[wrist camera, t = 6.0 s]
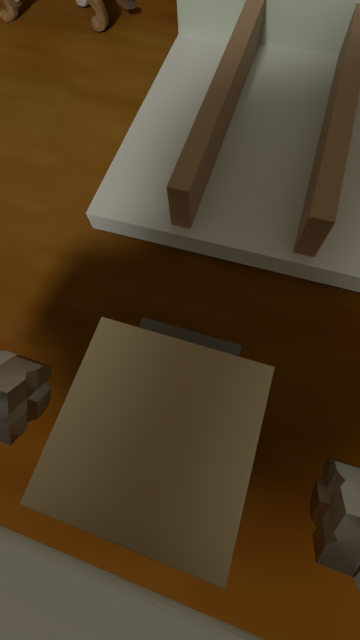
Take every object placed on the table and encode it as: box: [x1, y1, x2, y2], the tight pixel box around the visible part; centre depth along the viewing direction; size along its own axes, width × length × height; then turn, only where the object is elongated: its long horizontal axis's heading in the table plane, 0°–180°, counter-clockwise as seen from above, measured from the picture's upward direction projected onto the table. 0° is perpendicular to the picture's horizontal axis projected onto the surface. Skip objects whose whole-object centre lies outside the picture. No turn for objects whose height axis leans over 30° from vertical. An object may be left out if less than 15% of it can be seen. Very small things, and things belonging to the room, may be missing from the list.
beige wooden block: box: [20, 317, 275, 589], centre depth 10 cm, size 4×4×8 cm
